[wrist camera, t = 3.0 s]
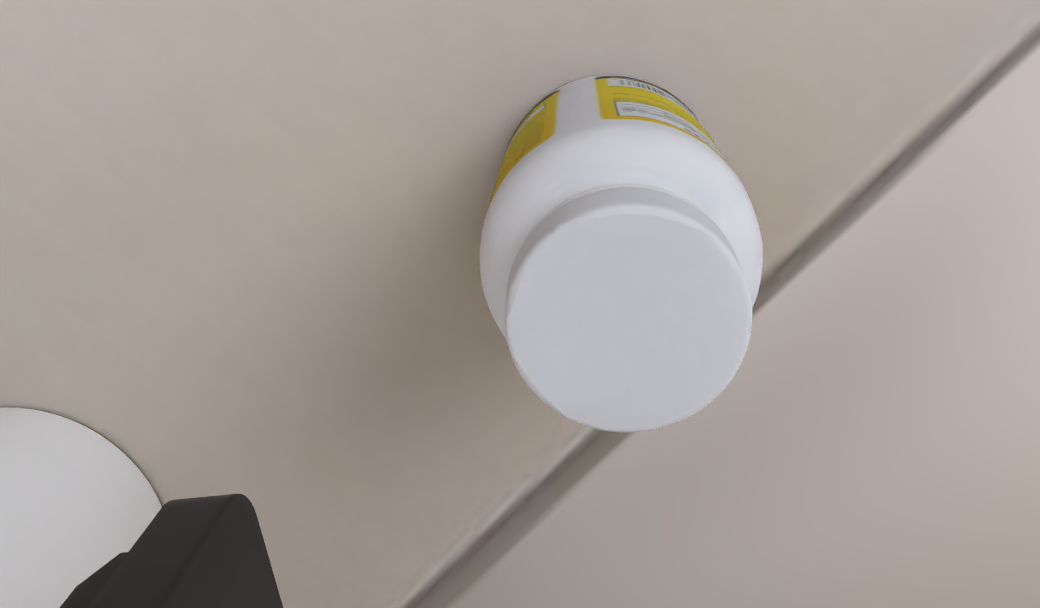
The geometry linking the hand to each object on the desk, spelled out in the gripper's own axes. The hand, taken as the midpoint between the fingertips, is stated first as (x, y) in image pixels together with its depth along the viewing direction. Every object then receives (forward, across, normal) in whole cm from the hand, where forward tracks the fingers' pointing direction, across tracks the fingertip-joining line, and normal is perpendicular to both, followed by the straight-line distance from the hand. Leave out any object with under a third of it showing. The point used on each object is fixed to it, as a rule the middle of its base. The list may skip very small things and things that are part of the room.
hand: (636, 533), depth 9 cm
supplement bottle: (+16, 0, 0) cm, 16 cm away
